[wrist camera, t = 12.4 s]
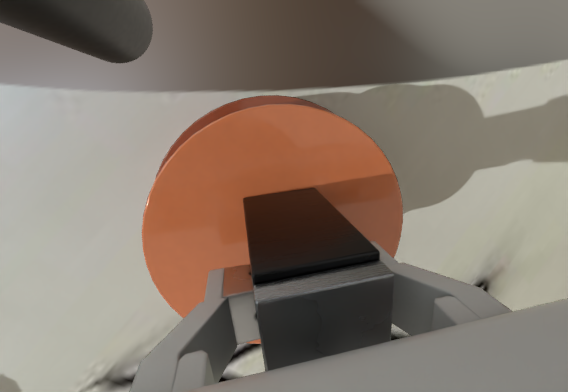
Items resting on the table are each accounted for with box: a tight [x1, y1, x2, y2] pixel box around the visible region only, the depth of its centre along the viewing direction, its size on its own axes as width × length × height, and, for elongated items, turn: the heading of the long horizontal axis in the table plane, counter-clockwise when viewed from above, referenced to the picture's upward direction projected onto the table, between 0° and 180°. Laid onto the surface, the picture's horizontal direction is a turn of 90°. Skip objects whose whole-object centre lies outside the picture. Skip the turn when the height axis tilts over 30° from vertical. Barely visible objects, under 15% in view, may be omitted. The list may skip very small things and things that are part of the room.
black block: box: [243, 188, 395, 371], centre depth 9 cm, size 5×3×6 cm, turn 5°
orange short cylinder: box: [142, 95, 403, 344], centre depth 17 cm, size 12×12×12 cm
